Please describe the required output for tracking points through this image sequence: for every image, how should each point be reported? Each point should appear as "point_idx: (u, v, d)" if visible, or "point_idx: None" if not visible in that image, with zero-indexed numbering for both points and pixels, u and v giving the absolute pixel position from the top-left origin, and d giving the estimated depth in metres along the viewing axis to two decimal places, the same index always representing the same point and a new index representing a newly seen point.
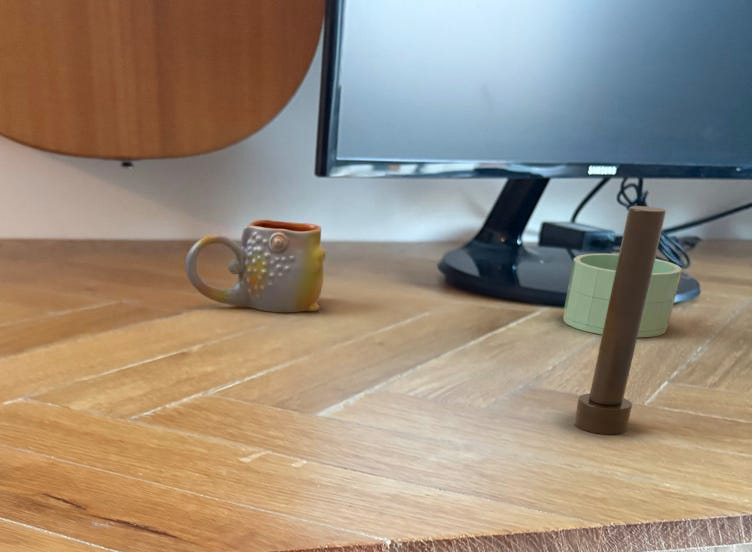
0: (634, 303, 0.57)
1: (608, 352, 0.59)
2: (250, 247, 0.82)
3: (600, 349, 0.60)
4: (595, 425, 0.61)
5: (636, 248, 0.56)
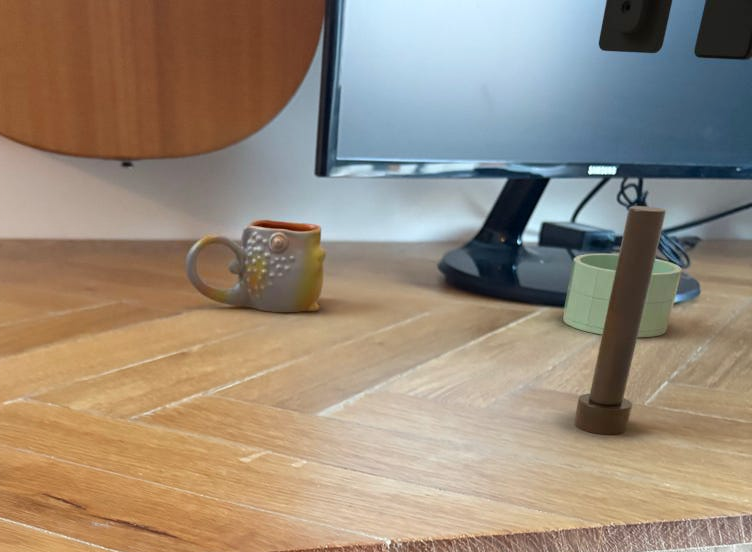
0: (634, 303, 0.57)
1: (608, 352, 0.59)
2: (250, 247, 0.82)
3: (600, 349, 0.60)
4: (595, 425, 0.61)
5: (636, 248, 0.56)
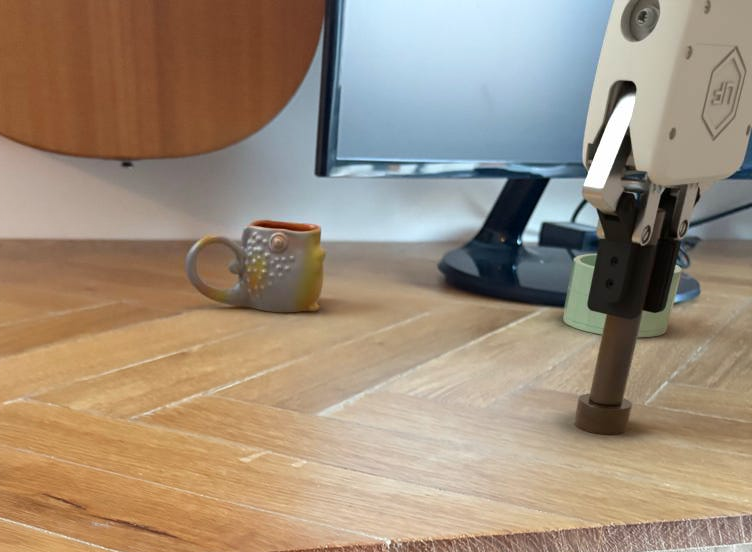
0: None
1: (608, 352, 0.59)
2: (250, 247, 0.82)
3: (600, 349, 0.60)
4: (595, 425, 0.61)
5: None
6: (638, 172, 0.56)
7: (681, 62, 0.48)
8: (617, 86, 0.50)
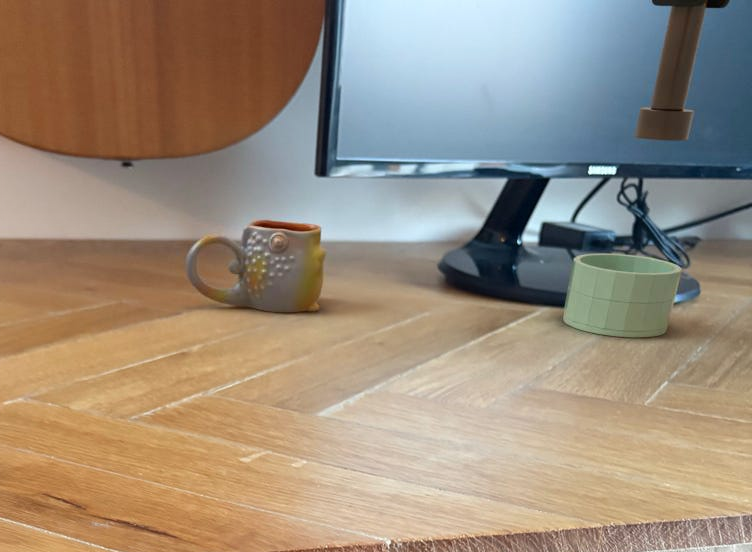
0: None
1: (671, 50, 0.60)
2: (250, 247, 0.82)
3: (663, 50, 0.60)
4: (658, 131, 0.61)
5: None
6: None
7: None
8: None
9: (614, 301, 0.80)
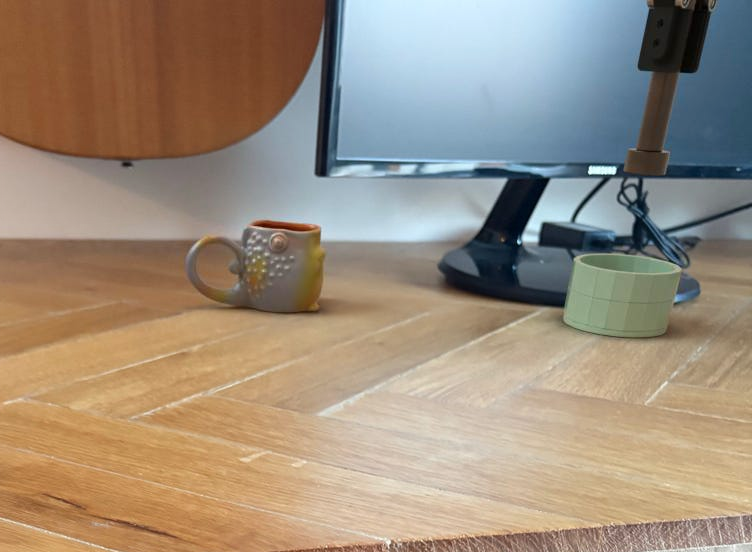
0: None
1: (652, 104, 0.76)
2: (250, 247, 0.82)
3: (646, 104, 0.76)
4: (641, 167, 0.77)
5: None
6: None
7: None
8: None
9: (614, 301, 0.80)
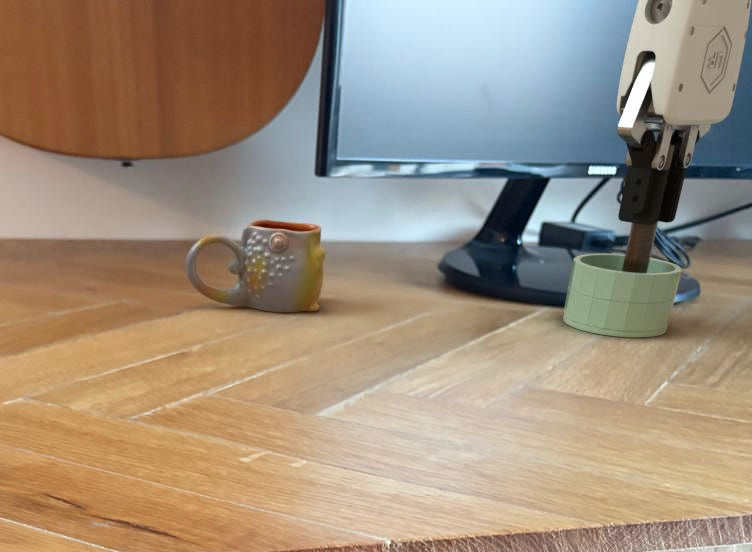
0: None
1: (632, 251, 0.81)
2: (250, 247, 0.82)
3: (627, 250, 0.82)
4: None
5: None
6: (655, 119, 0.78)
7: (687, 37, 0.70)
8: (642, 55, 0.72)
9: (614, 301, 0.80)
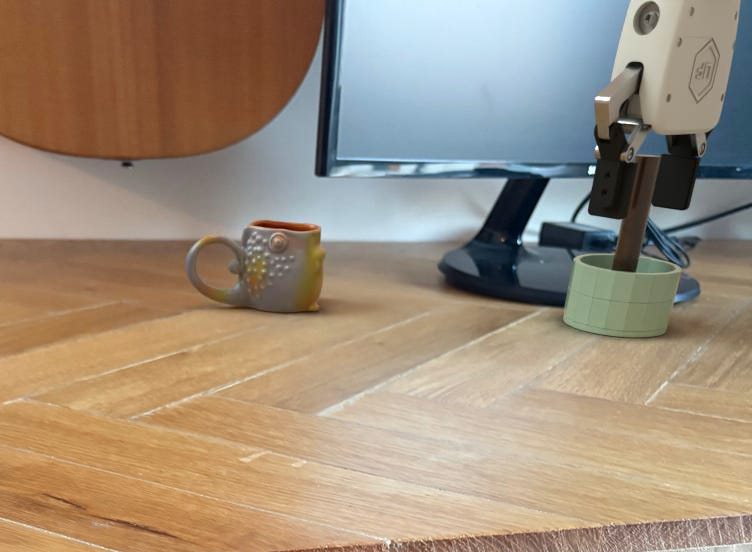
0: (639, 224, 0.80)
1: (619, 261, 0.82)
2: (250, 247, 0.82)
3: (614, 260, 0.83)
4: None
5: (640, 184, 0.79)
6: None
7: (674, 48, 0.71)
8: (630, 66, 0.73)
9: (614, 301, 0.80)
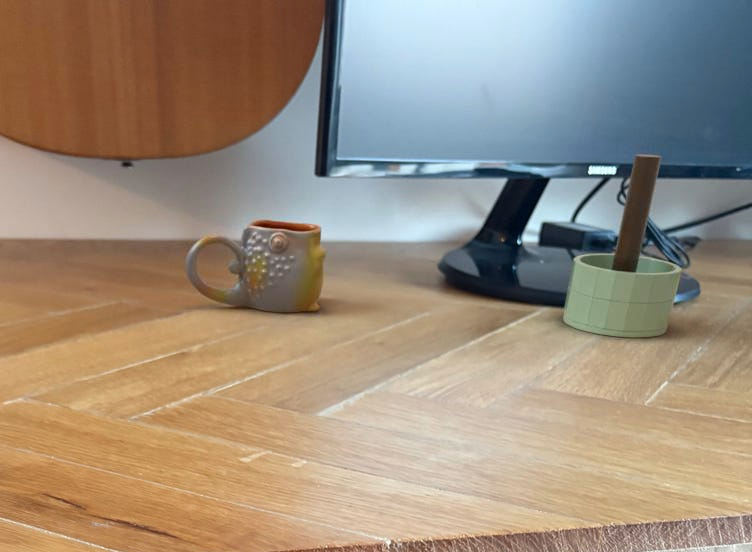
0: (639, 224, 0.80)
1: (619, 261, 0.82)
2: (250, 247, 0.82)
3: (614, 260, 0.83)
4: None
5: (640, 184, 0.79)
6: None
7: None
8: None
9: (614, 301, 0.80)
